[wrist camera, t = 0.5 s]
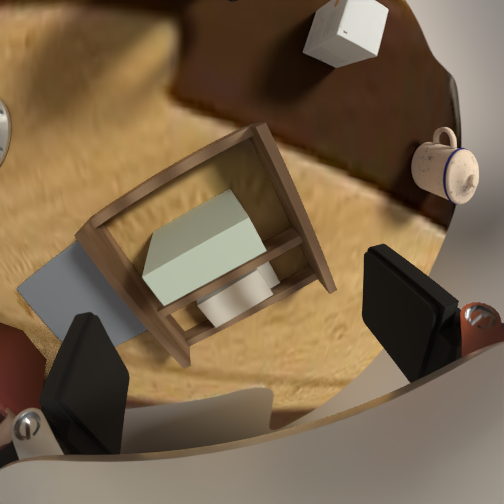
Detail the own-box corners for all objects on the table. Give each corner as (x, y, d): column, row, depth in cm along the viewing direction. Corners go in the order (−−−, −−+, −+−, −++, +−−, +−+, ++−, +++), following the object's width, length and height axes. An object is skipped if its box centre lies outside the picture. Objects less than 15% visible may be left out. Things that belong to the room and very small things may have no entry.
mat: (83, 360, 46) (82, 362, 45) (17, 286, 38) (16, 288, 37) (158, 322, 46) (158, 324, 45) (89, 231, 38) (88, 233, 37)
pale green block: (168, 254, 42) (164, 306, 30) (153, 231, 40) (142, 277, 28) (242, 213, 42) (266, 250, 30) (229, 188, 40) (249, 217, 28)
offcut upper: (214, 320, 46) (216, 327, 44) (196, 298, 44) (197, 305, 42) (269, 287, 46) (273, 294, 44) (254, 263, 44) (257, 269, 42)
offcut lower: (210, 311, 48) (211, 319, 46) (194, 289, 46) (194, 296, 44) (276, 276, 48) (280, 283, 46) (263, 252, 45) (266, 257, 44)
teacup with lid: (443, 185, 47) (489, 204, 37) (410, 195, 46) (457, 216, 36) (440, 122, 42) (489, 131, 31) (405, 126, 41) (456, 134, 30)
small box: (335, 68, 35) (377, 58, 26) (300, 53, 34) (335, 35, 24) (349, 26, 33) (390, 9, 23) (315, 10, 31) (351, -15, 22)
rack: (182, 339, 48) (184, 368, 42) (90, 217, 37) (74, 235, 31) (318, 267, 48) (336, 289, 42) (252, 122, 37) (265, 122, 30)
